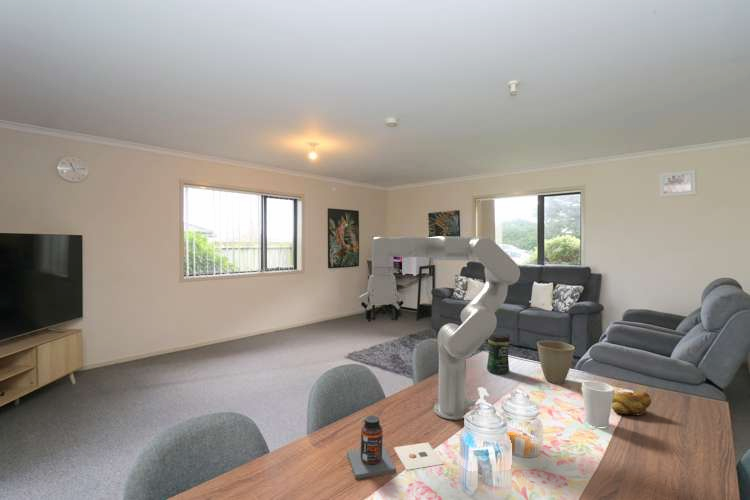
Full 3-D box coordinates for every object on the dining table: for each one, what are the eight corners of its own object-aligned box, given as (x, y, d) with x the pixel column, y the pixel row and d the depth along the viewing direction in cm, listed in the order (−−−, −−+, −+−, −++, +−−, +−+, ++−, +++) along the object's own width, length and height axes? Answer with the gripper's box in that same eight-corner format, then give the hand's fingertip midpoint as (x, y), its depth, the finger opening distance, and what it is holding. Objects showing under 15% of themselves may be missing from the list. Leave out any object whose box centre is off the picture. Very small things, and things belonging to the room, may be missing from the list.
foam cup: (577, 423, 124) (578, 385, 123) (584, 414, 131) (585, 378, 130) (610, 434, 117) (611, 394, 117) (615, 423, 124) (616, 385, 124)
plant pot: (580, 387, 155) (581, 350, 155) (545, 386, 155) (546, 349, 155) (563, 374, 170) (563, 340, 170) (530, 374, 170) (531, 340, 170)
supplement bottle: (366, 468, 97) (366, 425, 96) (357, 456, 102) (357, 416, 102) (386, 462, 99) (386, 421, 99) (376, 450, 105) (376, 411, 104)
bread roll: (622, 419, 127) (623, 396, 127) (601, 406, 137) (601, 385, 137) (654, 416, 130) (655, 394, 129) (631, 404, 139) (631, 383, 139)
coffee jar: (493, 375, 168) (494, 335, 168) (484, 369, 176) (485, 331, 175) (512, 373, 171) (512, 334, 170) (502, 368, 178) (502, 330, 178)
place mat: (383, 449, 107) (383, 445, 107) (395, 472, 97) (395, 468, 97) (347, 454, 104) (347, 451, 104) (355, 478, 94) (355, 475, 94)
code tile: (427, 442, 111) (427, 442, 111) (444, 463, 100) (444, 463, 100) (393, 447, 108) (393, 447, 108) (406, 470, 98) (406, 469, 98)
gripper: (402, 270, 134) (401, 317, 135) (356, 271, 130) (355, 319, 130) (409, 272, 127) (408, 321, 127) (361, 273, 122) (360, 323, 123)
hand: (382, 320), depth 129 cm, fingers open, 9 cm apart
